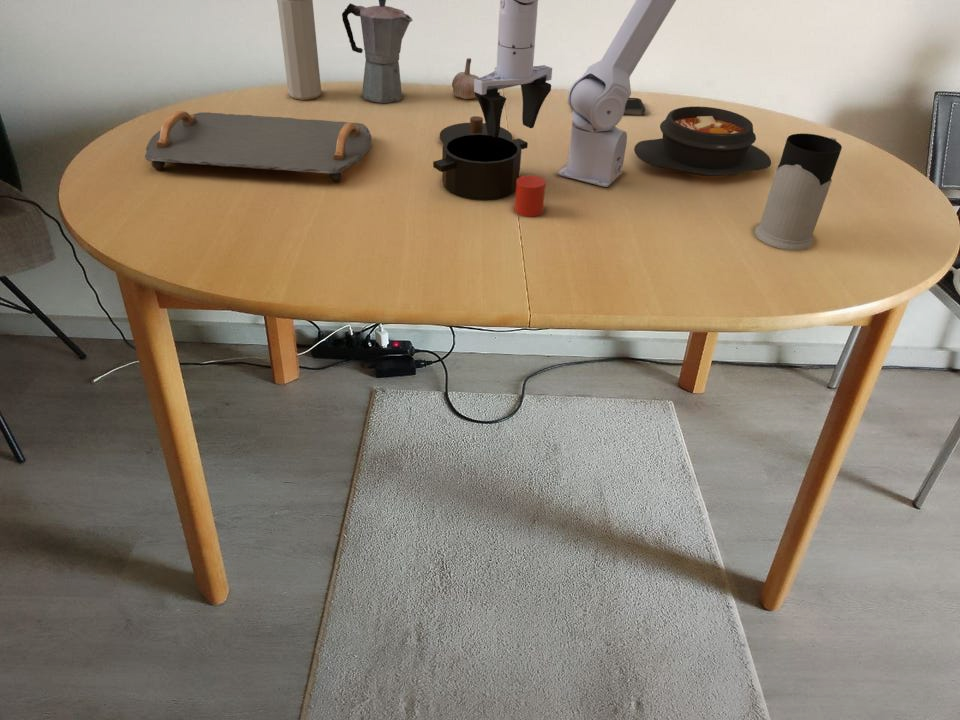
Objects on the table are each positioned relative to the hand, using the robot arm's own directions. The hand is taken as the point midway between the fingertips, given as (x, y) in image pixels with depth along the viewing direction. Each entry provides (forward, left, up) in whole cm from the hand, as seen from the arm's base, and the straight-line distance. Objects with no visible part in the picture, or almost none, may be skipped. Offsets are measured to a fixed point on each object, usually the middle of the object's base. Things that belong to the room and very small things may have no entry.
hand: (510, 130), depth 120 cm
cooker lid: (+14, -14, -8) cm, 21 cm away
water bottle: (+58, -16, -9) cm, 61 cm away
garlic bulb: (+29, -36, -9) cm, 47 cm away
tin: (-8, +7, -9) cm, 14 cm away
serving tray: (+42, +14, -9) cm, 45 cm away
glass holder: (-46, -10, -9) cm, 48 cm away
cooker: (+4, +3, -9) cm, 10 cm away
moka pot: (+44, -24, -9) cm, 51 cm away
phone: (0, -47, -9) cm, 47 cm away
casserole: (-26, -28, -9) cm, 39 cm away
